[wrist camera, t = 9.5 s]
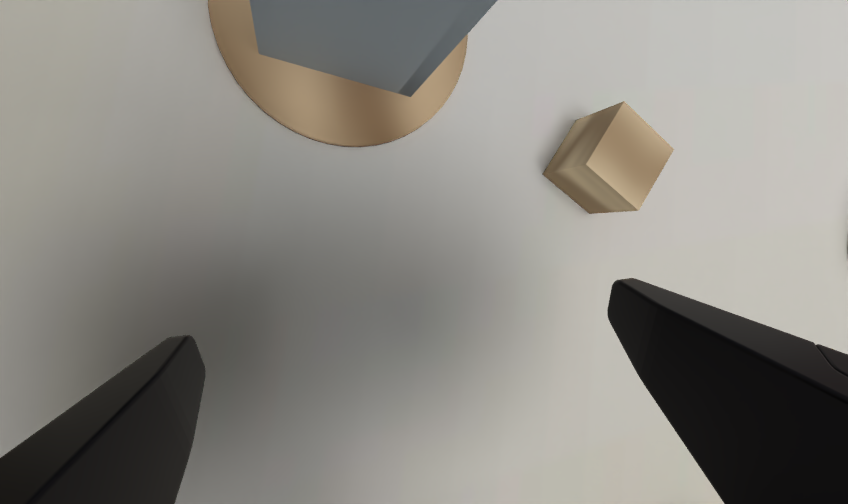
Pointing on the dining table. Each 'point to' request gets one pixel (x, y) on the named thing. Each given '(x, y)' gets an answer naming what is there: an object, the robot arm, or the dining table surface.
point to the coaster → (325, 88)
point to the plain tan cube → (609, 160)
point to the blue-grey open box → (366, 36)
